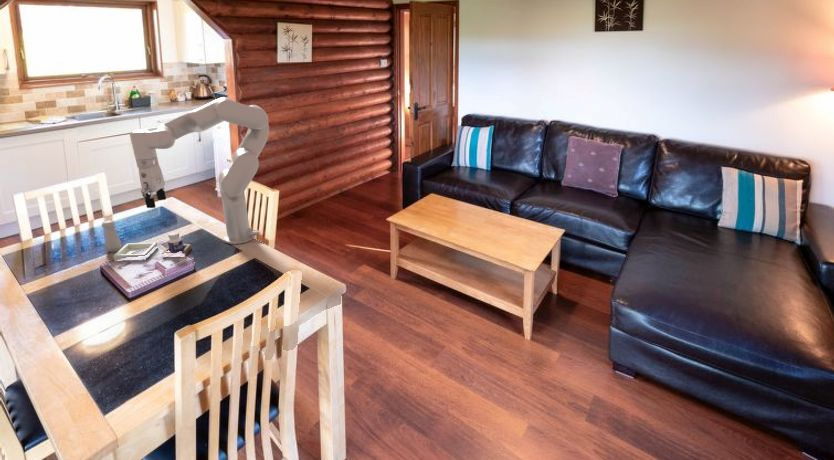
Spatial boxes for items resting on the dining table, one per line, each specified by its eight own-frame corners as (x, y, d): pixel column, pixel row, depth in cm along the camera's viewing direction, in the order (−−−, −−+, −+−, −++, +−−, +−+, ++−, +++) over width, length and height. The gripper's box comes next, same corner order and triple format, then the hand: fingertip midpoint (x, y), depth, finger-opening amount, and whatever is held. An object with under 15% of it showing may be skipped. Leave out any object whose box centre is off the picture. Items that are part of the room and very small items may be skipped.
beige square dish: (191, 248, 206) (190, 244, 205) (184, 257, 198) (183, 252, 197) (170, 249, 205) (169, 244, 205) (162, 257, 197) (161, 253, 197)
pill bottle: (175, 256, 198) (171, 236, 195) (167, 254, 201) (163, 234, 197) (187, 252, 203) (183, 232, 199) (178, 249, 205) (174, 230, 202)
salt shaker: (117, 246, 208) (110, 218, 203) (125, 249, 205) (118, 220, 200) (104, 251, 203) (96, 222, 198) (112, 254, 200) (104, 225, 195)
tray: (158, 247, 206) (156, 242, 205) (146, 260, 195) (144, 254, 194) (128, 249, 205) (127, 243, 204) (114, 261, 194) (113, 255, 193)
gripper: (147, 167, 182) (157, 210, 188) (166, 156, 198) (175, 196, 204) (126, 168, 181) (137, 211, 188) (147, 156, 197) (156, 196, 204)
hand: (156, 203), depth 196 cm, fingers open, 9 cm apart
